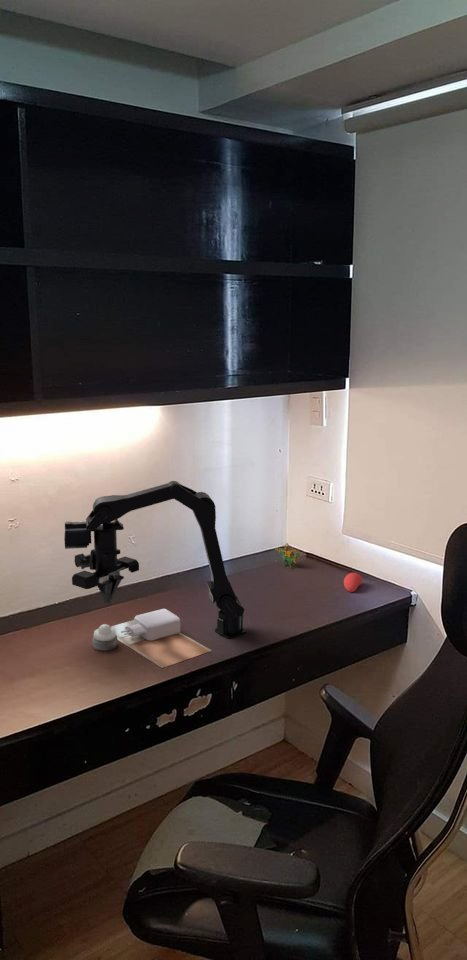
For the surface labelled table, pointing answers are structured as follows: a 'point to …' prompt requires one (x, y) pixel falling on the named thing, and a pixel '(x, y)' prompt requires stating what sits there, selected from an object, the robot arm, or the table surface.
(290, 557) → the figurine
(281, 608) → the table surface
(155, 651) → the game board
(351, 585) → the stress ball
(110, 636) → the dome
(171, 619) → the charger
